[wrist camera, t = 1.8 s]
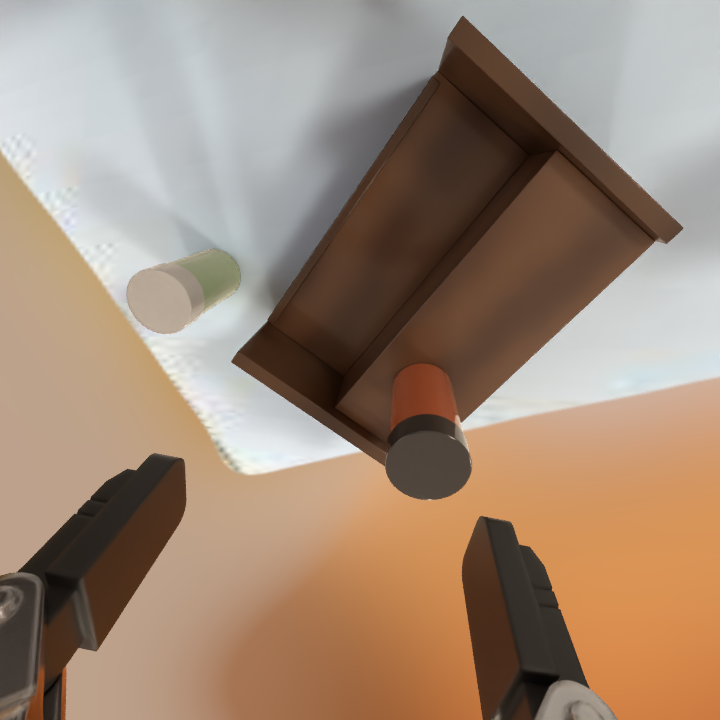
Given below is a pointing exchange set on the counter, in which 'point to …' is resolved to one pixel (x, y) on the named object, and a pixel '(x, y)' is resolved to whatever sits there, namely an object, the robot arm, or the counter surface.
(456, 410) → the pepper shaker
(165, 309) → the cylinder
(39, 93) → the counter surface
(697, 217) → the counter surface
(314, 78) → the counter surface
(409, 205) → the spice rack
